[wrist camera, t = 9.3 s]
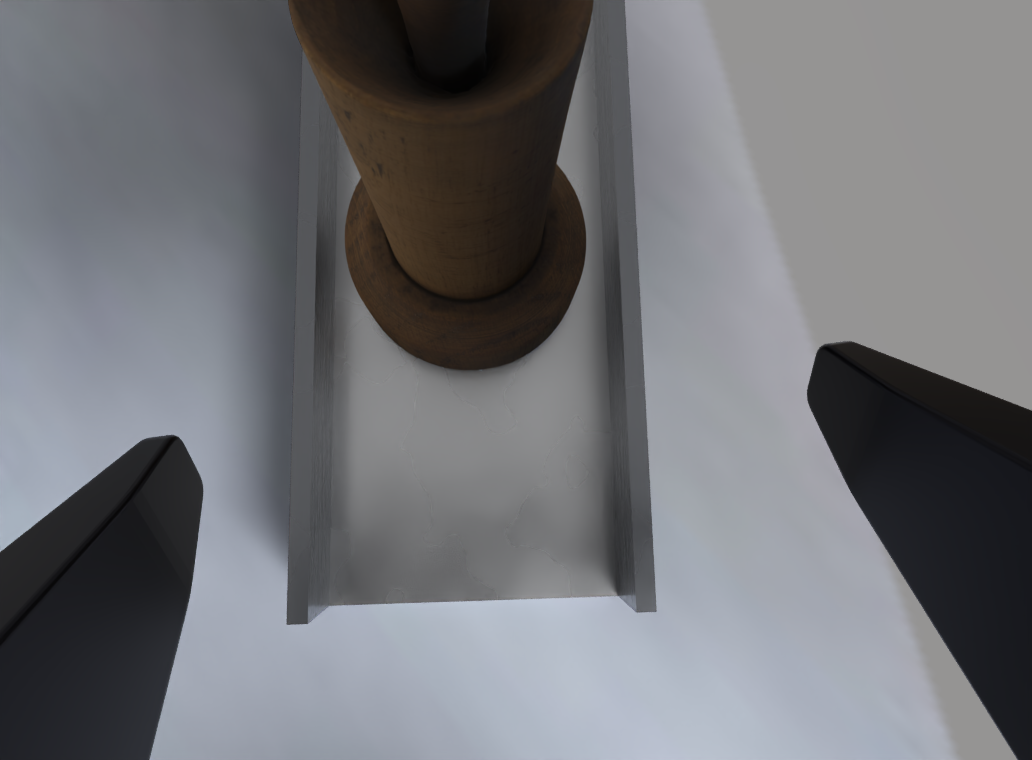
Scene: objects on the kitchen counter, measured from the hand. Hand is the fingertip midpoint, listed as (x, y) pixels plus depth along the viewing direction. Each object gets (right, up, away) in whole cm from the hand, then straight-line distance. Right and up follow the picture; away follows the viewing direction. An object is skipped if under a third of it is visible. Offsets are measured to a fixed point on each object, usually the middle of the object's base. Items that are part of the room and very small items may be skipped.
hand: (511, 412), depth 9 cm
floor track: (-1, +4, +11) cm, 12 cm away
